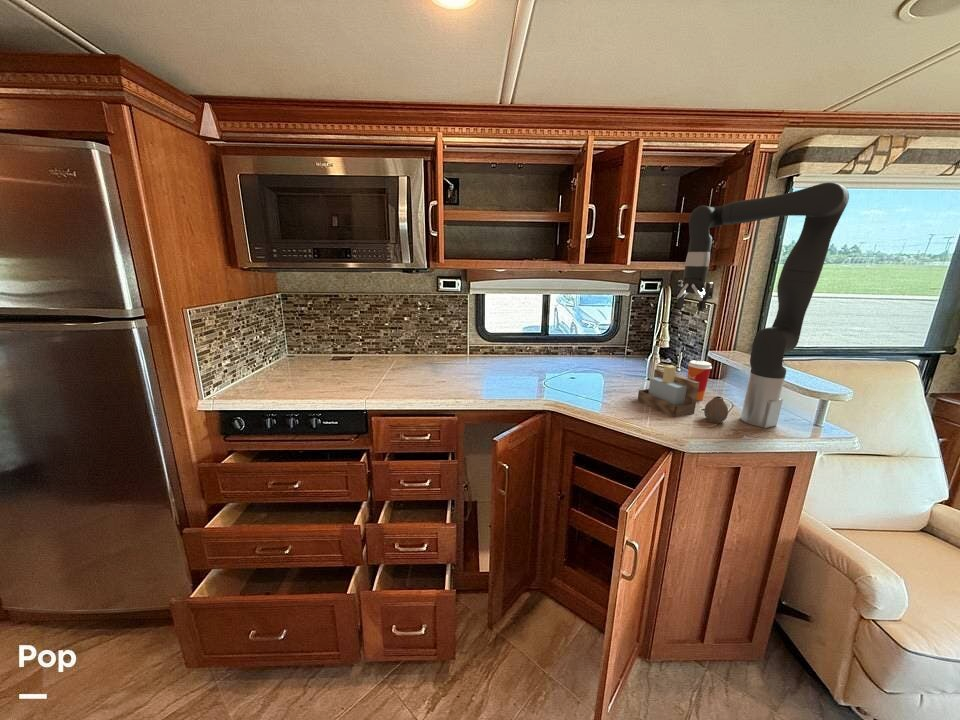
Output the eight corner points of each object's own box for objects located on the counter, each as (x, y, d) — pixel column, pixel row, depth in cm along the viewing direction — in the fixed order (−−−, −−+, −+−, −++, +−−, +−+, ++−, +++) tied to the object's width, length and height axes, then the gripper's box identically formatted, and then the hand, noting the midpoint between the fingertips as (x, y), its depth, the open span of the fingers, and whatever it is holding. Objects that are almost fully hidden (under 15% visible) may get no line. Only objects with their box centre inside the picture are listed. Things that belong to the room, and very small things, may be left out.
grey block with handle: (682, 411, 134) (689, 370, 130) (672, 413, 132) (679, 371, 128) (656, 400, 145) (662, 361, 141) (647, 402, 143) (652, 363, 139)
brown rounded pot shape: (720, 426, 122) (725, 402, 120) (699, 419, 127) (703, 396, 125) (729, 421, 126) (734, 398, 124) (708, 415, 131) (712, 392, 129)
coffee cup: (681, 393, 153) (687, 359, 149) (703, 396, 150) (710, 361, 146) (684, 400, 145) (690, 364, 141) (707, 403, 142) (714, 366, 138)
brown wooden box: (694, 413, 132) (699, 382, 129) (674, 417, 129) (679, 385, 126) (654, 396, 149) (658, 368, 145) (635, 400, 145) (639, 371, 142)
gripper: (722, 265, 127) (714, 311, 132) (687, 264, 140) (680, 307, 144) (708, 265, 125) (700, 312, 129) (672, 264, 137) (666, 307, 142)
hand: (689, 309), depth 137 cm, fingers open, 8 cm apart
